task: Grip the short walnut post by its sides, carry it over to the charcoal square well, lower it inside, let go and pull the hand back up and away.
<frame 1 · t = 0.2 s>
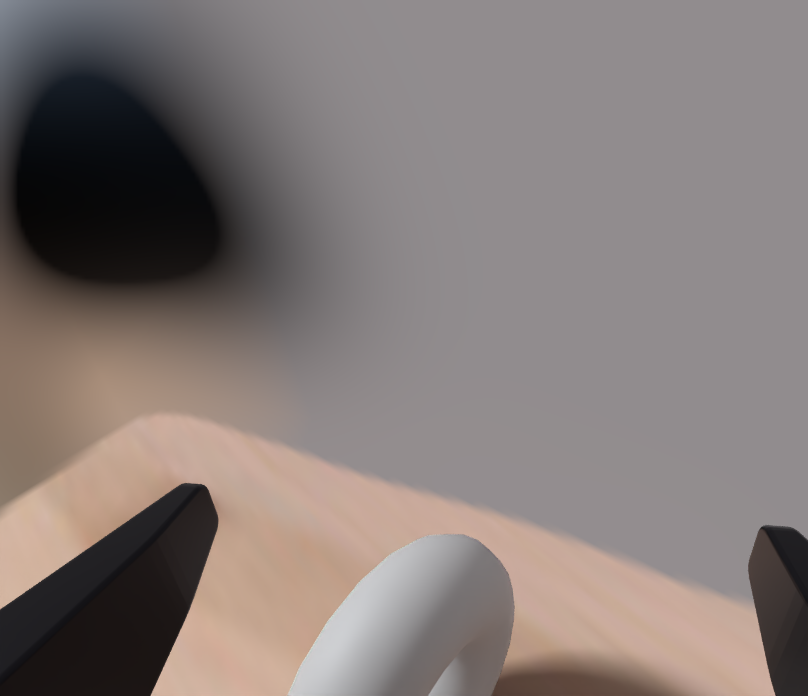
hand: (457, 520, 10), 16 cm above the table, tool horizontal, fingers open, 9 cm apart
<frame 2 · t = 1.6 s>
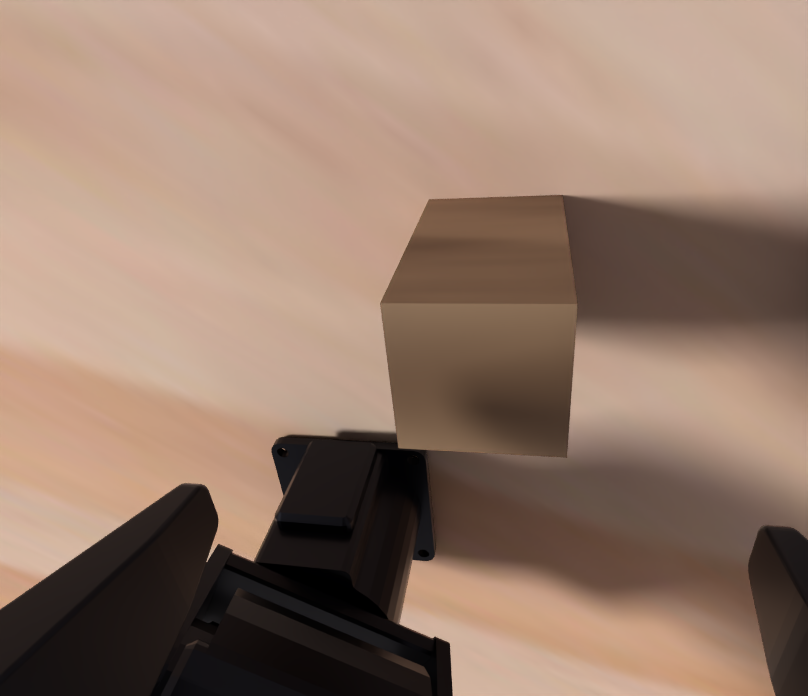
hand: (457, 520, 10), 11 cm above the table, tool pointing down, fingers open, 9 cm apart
walnut post: (494, 258, 19), on the table
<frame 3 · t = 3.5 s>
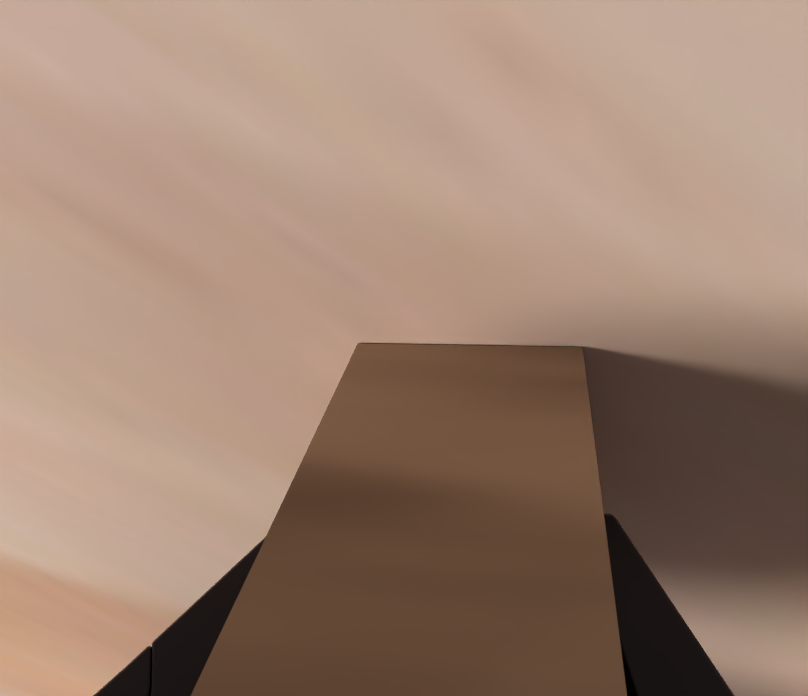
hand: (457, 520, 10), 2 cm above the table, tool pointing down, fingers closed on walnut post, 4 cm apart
walnut post: (469, 431, 11), on the table, touching gripper
when the fingers open (3 cm above the table, at t = 8.1 s): walnut post drops 1 cm, resting in square well.
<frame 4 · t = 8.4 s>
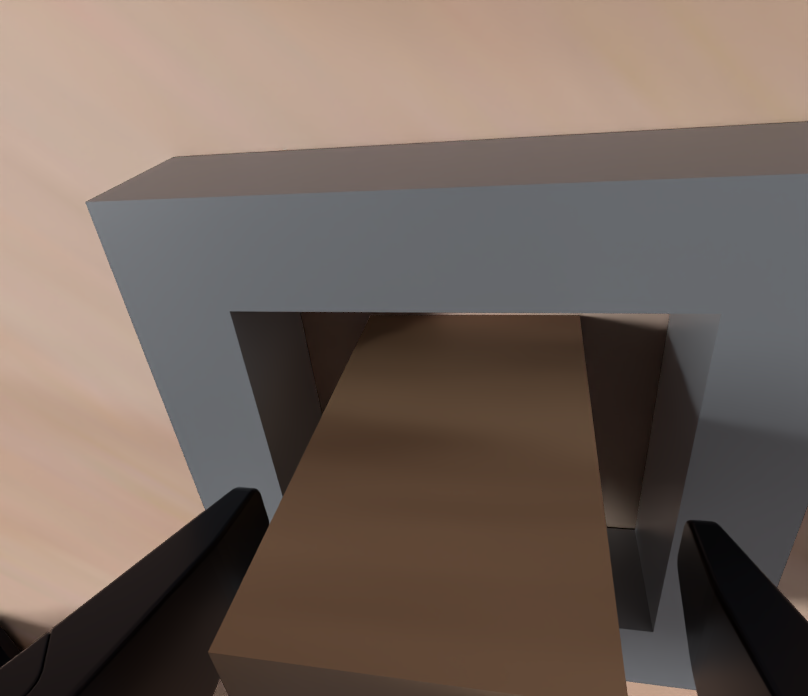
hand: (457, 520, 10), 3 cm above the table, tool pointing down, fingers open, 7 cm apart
walnut post: (475, 398, 12), resting in square well
square well: (476, 401, 12), on the table
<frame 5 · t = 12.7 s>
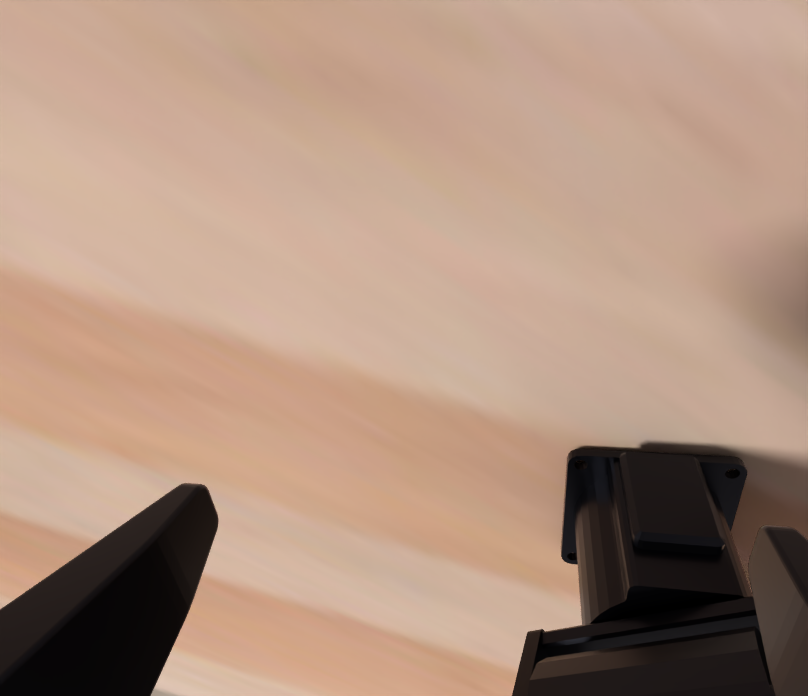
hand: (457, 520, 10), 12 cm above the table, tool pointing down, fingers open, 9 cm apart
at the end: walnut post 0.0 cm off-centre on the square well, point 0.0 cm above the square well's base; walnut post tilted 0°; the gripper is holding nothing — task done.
